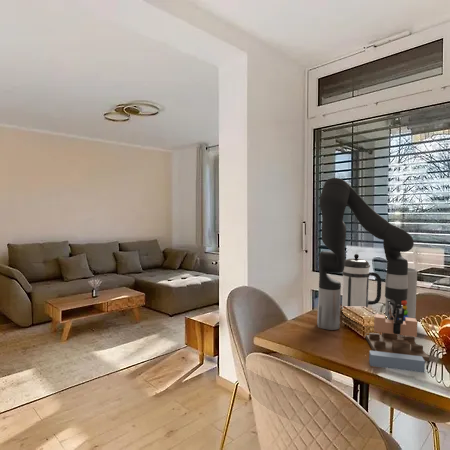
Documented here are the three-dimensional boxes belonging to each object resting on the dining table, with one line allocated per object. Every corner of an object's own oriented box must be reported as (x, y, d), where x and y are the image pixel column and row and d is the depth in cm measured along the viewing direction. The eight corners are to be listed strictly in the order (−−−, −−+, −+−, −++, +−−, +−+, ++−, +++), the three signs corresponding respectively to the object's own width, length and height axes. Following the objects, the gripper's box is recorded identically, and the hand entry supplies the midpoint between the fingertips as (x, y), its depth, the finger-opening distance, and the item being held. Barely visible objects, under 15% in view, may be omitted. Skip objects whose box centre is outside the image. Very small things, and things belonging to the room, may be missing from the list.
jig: (376, 356, 125) (377, 341, 125) (365, 337, 145) (365, 324, 144) (429, 361, 122) (430, 346, 122) (410, 340, 141) (411, 327, 141)
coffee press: (362, 320, 167) (364, 256, 166) (332, 312, 179) (334, 253, 178) (380, 314, 178) (383, 254, 177) (351, 307, 190) (353, 251, 189)
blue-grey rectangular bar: (370, 366, 118) (370, 354, 117) (369, 361, 121) (369, 350, 121) (424, 373, 113) (425, 361, 113) (421, 368, 117) (421, 356, 117)
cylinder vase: (396, 327, 157) (398, 271, 156) (379, 319, 169) (381, 267, 168) (421, 326, 160) (423, 271, 159) (402, 318, 172) (404, 266, 171)
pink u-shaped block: (414, 333, 132) (415, 318, 132) (416, 336, 128) (417, 321, 128) (374, 328, 137) (374, 314, 137) (374, 331, 133) (375, 317, 133)
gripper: (413, 290, 124) (411, 338, 125) (401, 282, 138) (400, 326, 139) (390, 289, 126) (388, 336, 126) (381, 281, 140) (379, 324, 140)
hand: (394, 331), depth 133 cm, fingers closed on pink u-shaped block, 5 cm apart
